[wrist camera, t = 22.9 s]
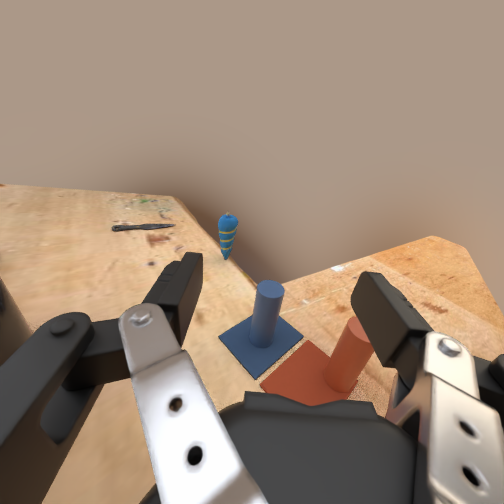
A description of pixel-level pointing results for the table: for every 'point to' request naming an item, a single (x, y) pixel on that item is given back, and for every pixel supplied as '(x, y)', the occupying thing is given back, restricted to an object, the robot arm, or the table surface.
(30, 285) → the table surface
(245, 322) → the blue mat
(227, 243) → the ornament
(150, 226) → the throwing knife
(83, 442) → the table surface
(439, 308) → the table surface
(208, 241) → the table surface
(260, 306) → the blue cylinder
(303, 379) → the terracotta mat
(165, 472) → the robot arm
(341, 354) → the terracotta skittle
